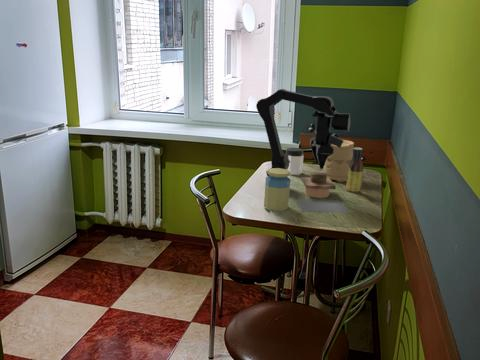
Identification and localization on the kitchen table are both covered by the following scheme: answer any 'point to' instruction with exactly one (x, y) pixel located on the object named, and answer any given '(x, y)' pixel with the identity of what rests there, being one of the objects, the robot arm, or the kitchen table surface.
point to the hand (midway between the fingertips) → (319, 165)
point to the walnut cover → (318, 181)
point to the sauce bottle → (355, 171)
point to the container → (339, 161)
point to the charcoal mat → (322, 206)
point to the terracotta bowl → (317, 192)
